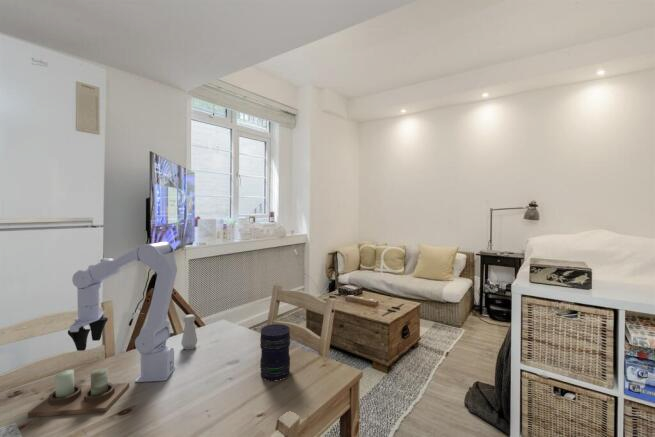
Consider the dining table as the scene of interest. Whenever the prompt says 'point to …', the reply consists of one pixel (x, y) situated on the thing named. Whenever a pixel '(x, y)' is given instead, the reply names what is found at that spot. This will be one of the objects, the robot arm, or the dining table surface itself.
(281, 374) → the storage jar
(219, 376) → the dining table surface
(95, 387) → the peg stand
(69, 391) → the loose peg
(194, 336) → the salt shaker
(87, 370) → the dining table surface
